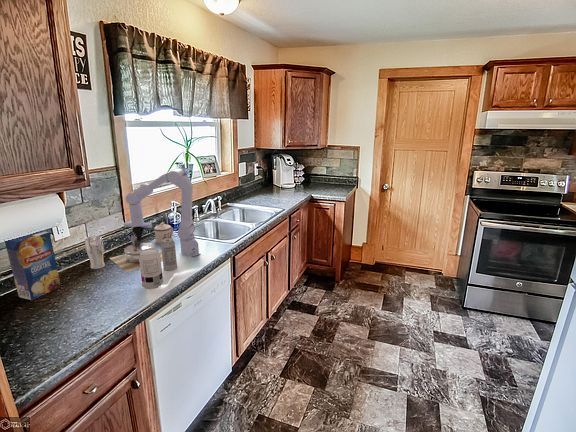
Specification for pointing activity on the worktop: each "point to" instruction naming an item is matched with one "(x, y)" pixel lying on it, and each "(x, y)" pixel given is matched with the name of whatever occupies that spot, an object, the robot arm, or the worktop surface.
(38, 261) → the juice carton
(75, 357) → the worktop surface
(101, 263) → the beer glass
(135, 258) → the cream flat block
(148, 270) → the supplement can
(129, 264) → the trivet board
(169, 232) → the teacup with lid
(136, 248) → the cooker lid
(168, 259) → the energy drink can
